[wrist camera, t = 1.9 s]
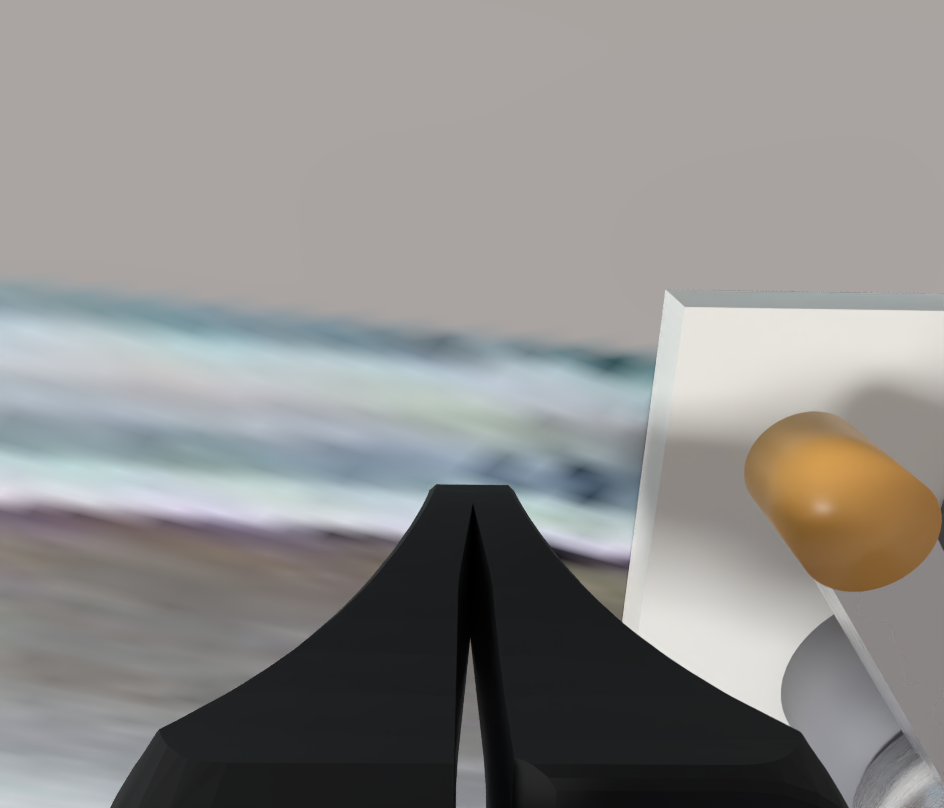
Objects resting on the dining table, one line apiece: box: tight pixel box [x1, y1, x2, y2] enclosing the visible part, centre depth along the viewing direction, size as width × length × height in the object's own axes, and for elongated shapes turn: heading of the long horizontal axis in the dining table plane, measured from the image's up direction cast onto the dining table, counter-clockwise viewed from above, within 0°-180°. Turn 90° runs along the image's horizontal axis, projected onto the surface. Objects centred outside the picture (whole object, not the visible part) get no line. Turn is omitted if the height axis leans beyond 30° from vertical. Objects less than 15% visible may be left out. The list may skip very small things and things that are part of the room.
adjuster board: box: [622, 290, 944, 808], centre depth 17 cm, size 16×14×4 cm
